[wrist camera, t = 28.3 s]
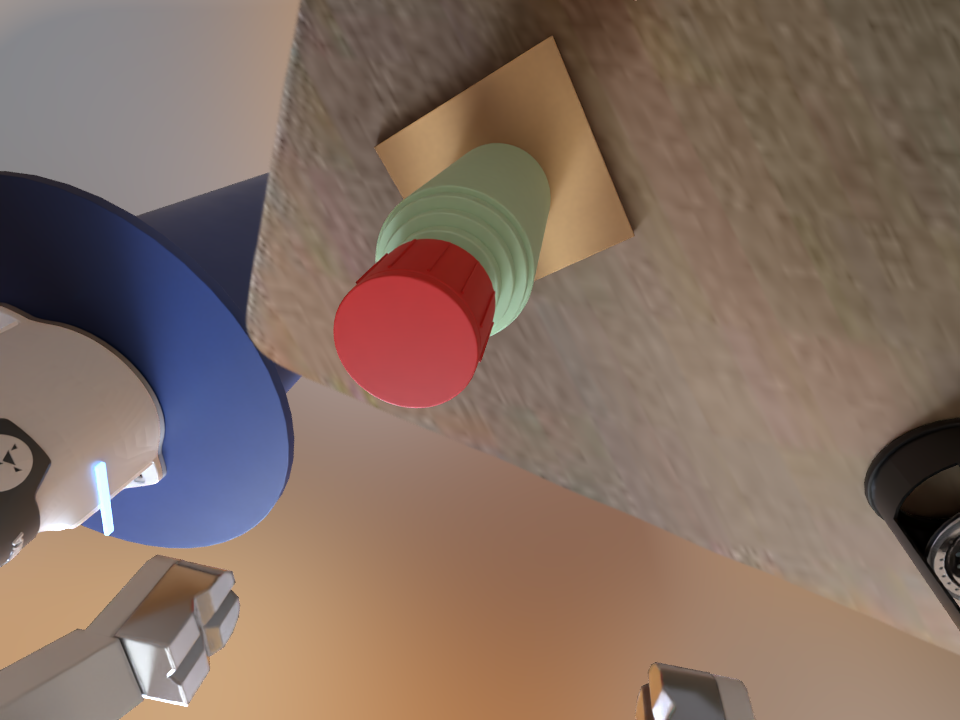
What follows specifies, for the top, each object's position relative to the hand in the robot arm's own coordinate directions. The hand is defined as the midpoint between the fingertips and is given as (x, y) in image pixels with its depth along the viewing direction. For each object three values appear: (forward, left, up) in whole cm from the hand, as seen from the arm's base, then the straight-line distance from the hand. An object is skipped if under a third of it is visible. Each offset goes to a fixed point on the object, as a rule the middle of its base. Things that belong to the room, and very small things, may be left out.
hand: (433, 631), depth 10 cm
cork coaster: (0, +4, -24) cm, 25 cm away
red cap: (0, +4, -9) cm, 10 cm away
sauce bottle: (0, +4, -24) cm, 24 cm away
